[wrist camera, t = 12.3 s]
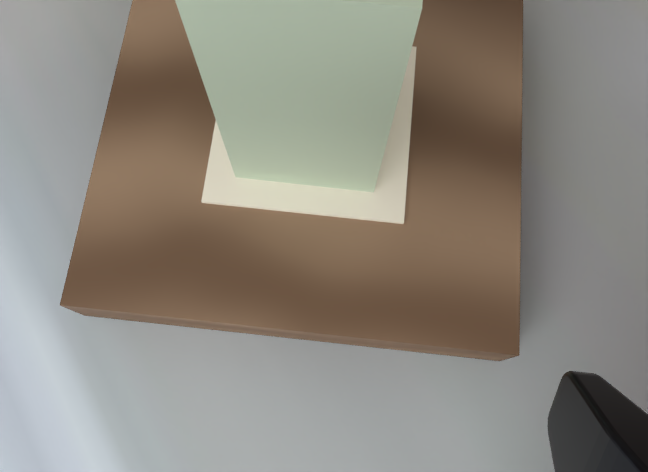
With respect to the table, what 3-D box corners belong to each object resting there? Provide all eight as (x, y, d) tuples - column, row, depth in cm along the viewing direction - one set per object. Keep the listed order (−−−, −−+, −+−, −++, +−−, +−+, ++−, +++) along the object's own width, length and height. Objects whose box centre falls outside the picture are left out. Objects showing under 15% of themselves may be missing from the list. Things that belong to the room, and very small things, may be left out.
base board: (499, 360, 20) (521, 354, 18) (84, 315, 20) (57, 304, 18) (506, 7, 24) (524, -31, 22) (161, -27, 24) (147, -68, 22)
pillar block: (373, 192, 19) (421, 8, 10) (235, 177, 19) (168, -18, 10) (385, 70, 20) (436, -183, 12) (255, 56, 20) (211, -205, 12)
